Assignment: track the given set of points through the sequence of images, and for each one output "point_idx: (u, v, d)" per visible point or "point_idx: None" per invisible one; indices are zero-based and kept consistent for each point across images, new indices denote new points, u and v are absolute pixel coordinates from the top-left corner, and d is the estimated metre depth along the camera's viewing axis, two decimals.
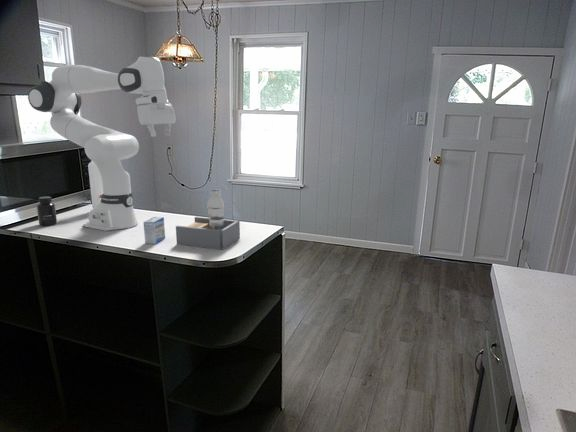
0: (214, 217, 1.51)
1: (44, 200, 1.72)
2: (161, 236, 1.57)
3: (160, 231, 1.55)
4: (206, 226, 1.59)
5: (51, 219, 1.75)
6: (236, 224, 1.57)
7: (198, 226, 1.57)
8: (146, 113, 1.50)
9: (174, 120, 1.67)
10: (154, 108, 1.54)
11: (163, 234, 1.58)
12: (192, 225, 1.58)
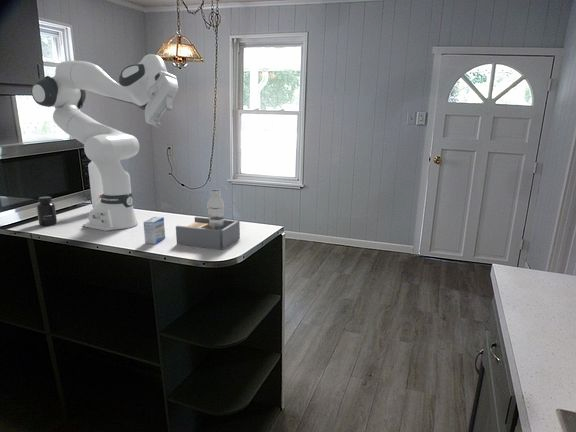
0: (214, 217, 1.51)
1: (44, 200, 1.72)
2: (161, 236, 1.57)
3: (160, 231, 1.55)
4: (206, 226, 1.60)
5: (51, 219, 1.75)
6: (236, 224, 1.57)
7: (198, 226, 1.57)
8: (177, 83, 1.45)
9: None
10: None
11: (163, 234, 1.58)
12: (192, 225, 1.58)
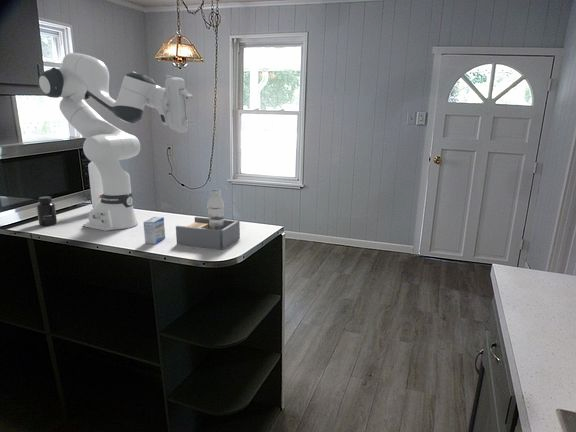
0: (214, 217, 1.51)
1: (44, 200, 1.72)
2: (161, 236, 1.57)
3: (160, 231, 1.55)
4: (206, 226, 1.60)
5: (51, 219, 1.75)
6: (236, 224, 1.57)
7: (198, 226, 1.57)
8: None
9: (175, 84, 1.45)
10: (170, 115, 1.55)
11: (163, 234, 1.58)
12: (192, 225, 1.58)
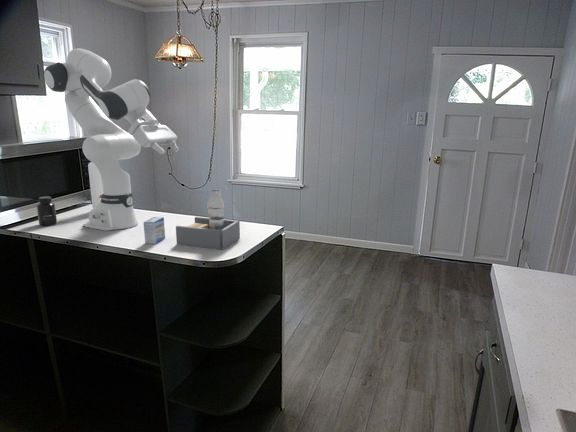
0: (214, 217, 1.51)
1: (44, 200, 1.72)
2: (161, 236, 1.57)
3: (160, 231, 1.55)
4: (205, 227, 1.59)
5: (51, 219, 1.75)
6: (236, 224, 1.57)
7: (197, 227, 1.56)
8: (142, 133, 1.45)
9: (175, 136, 1.62)
10: (148, 128, 1.50)
11: (163, 234, 1.58)
12: (191, 225, 1.58)
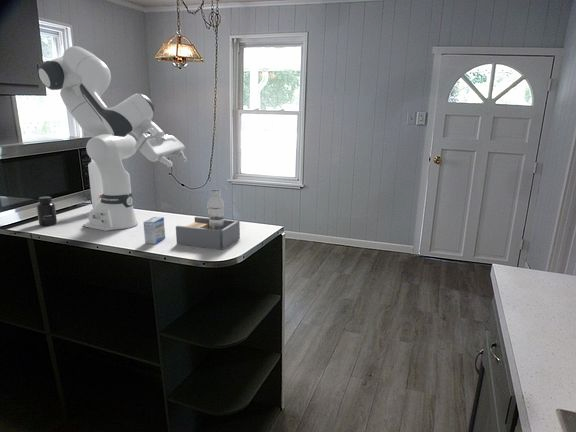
0: (214, 217, 1.51)
1: (44, 200, 1.72)
2: (161, 236, 1.57)
3: (160, 231, 1.55)
4: (205, 226, 1.59)
5: (51, 219, 1.75)
6: (236, 224, 1.57)
7: (196, 226, 1.57)
8: (149, 148, 1.44)
9: (182, 145, 1.61)
10: (154, 142, 1.49)
11: (163, 234, 1.58)
12: (191, 225, 1.58)
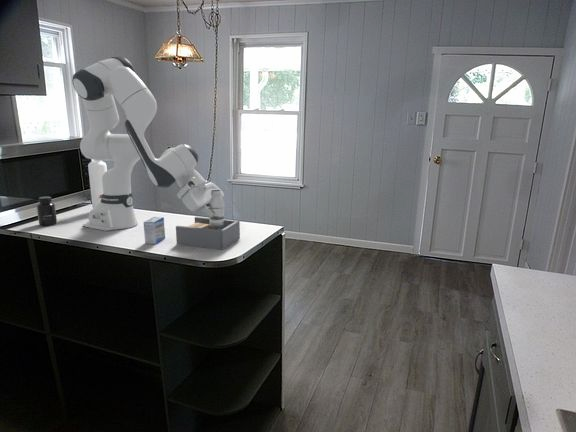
0: (214, 217, 1.51)
1: (44, 200, 1.72)
2: (161, 236, 1.57)
3: (160, 231, 1.55)
4: (207, 227, 1.59)
5: (51, 219, 1.75)
6: (236, 224, 1.57)
7: (198, 226, 1.56)
8: (191, 199, 1.44)
9: (222, 193, 1.60)
10: (196, 191, 1.49)
11: (163, 234, 1.58)
12: (193, 225, 1.58)
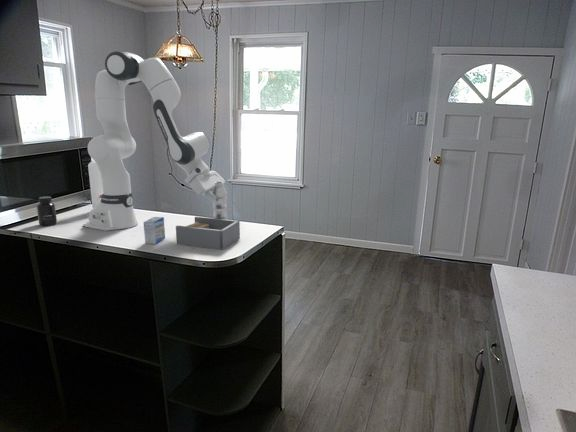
0: (218, 206, 1.68)
1: (44, 200, 1.72)
2: (161, 236, 1.57)
3: (160, 231, 1.55)
4: (206, 227, 1.59)
5: (51, 219, 1.75)
6: (236, 224, 1.57)
7: (197, 226, 1.57)
8: (199, 183, 1.61)
9: (223, 180, 1.78)
10: (202, 177, 1.66)
11: (163, 234, 1.58)
12: (192, 225, 1.59)
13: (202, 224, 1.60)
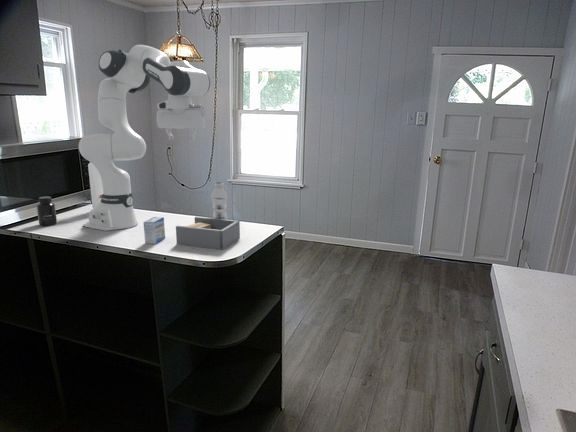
0: (218, 207, 1.68)
1: (44, 200, 1.72)
2: (161, 236, 1.57)
3: (160, 231, 1.55)
4: (207, 227, 1.59)
5: (51, 219, 1.75)
6: (236, 224, 1.57)
7: (198, 226, 1.57)
8: None
9: (197, 126, 1.58)
10: (168, 113, 1.60)
11: (163, 234, 1.58)
12: (194, 225, 1.59)
13: (204, 224, 1.60)
